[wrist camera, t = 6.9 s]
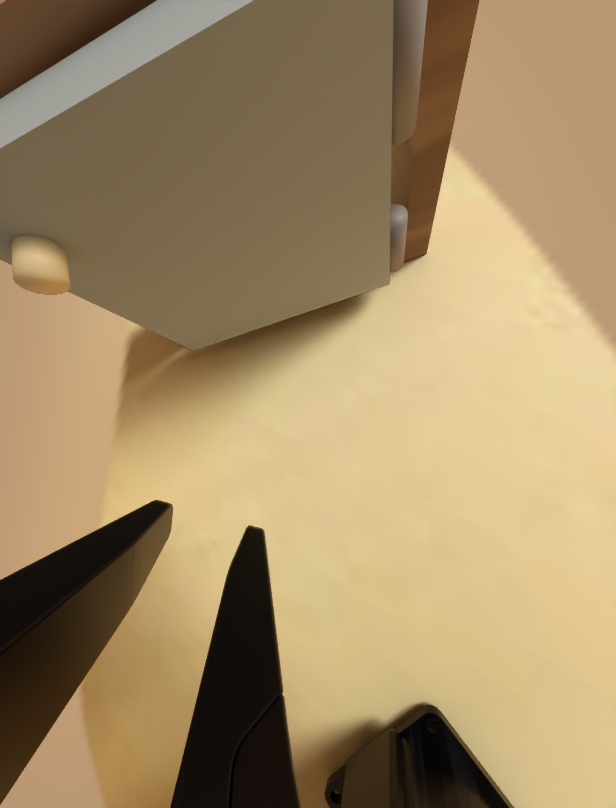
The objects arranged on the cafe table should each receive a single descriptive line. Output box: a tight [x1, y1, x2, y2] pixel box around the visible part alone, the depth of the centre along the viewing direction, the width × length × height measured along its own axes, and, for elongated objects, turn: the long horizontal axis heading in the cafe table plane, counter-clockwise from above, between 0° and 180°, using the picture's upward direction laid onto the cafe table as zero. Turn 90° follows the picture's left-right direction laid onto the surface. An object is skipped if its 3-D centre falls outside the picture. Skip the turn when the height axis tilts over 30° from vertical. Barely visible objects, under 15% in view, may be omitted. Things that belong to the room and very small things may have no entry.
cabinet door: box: [0, 0, 428, 351], centre depth 11 cm, size 2×12×11 cm, turn 103°
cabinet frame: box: [0, 0, 479, 262], centre depth 12 cm, size 2×15×13 cm, turn 104°
